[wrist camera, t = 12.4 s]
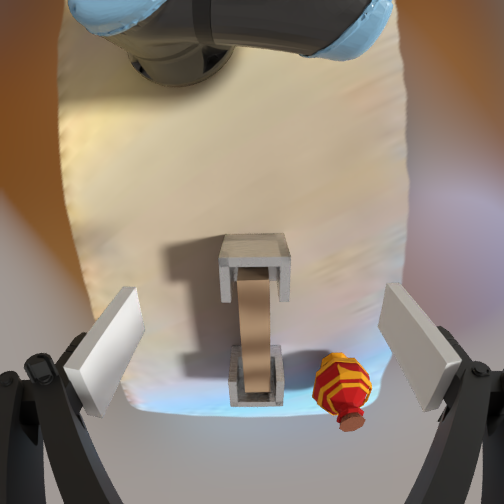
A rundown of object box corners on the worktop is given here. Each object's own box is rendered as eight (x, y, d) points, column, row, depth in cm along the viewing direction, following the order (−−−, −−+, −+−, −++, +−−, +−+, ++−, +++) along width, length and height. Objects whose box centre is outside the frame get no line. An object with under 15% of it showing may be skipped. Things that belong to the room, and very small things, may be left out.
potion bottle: (297, 374, 53) (306, 438, 39) (325, 334, 50) (345, 397, 36) (341, 386, 55) (358, 445, 41) (371, 349, 52) (398, 407, 38)
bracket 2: (231, 345, 51) (228, 381, 43) (280, 345, 51) (284, 381, 42) (233, 370, 53) (230, 406, 45) (279, 370, 53) (282, 406, 45)
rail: (238, 264, 42) (236, 280, 38) (267, 263, 42) (269, 279, 38) (245, 371, 49) (245, 392, 45) (269, 371, 49) (270, 391, 45)
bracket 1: (283, 271, 46) (289, 301, 37) (227, 272, 46) (221, 302, 38) (284, 233, 44) (290, 256, 35) (225, 234, 44) (218, 257, 35)
